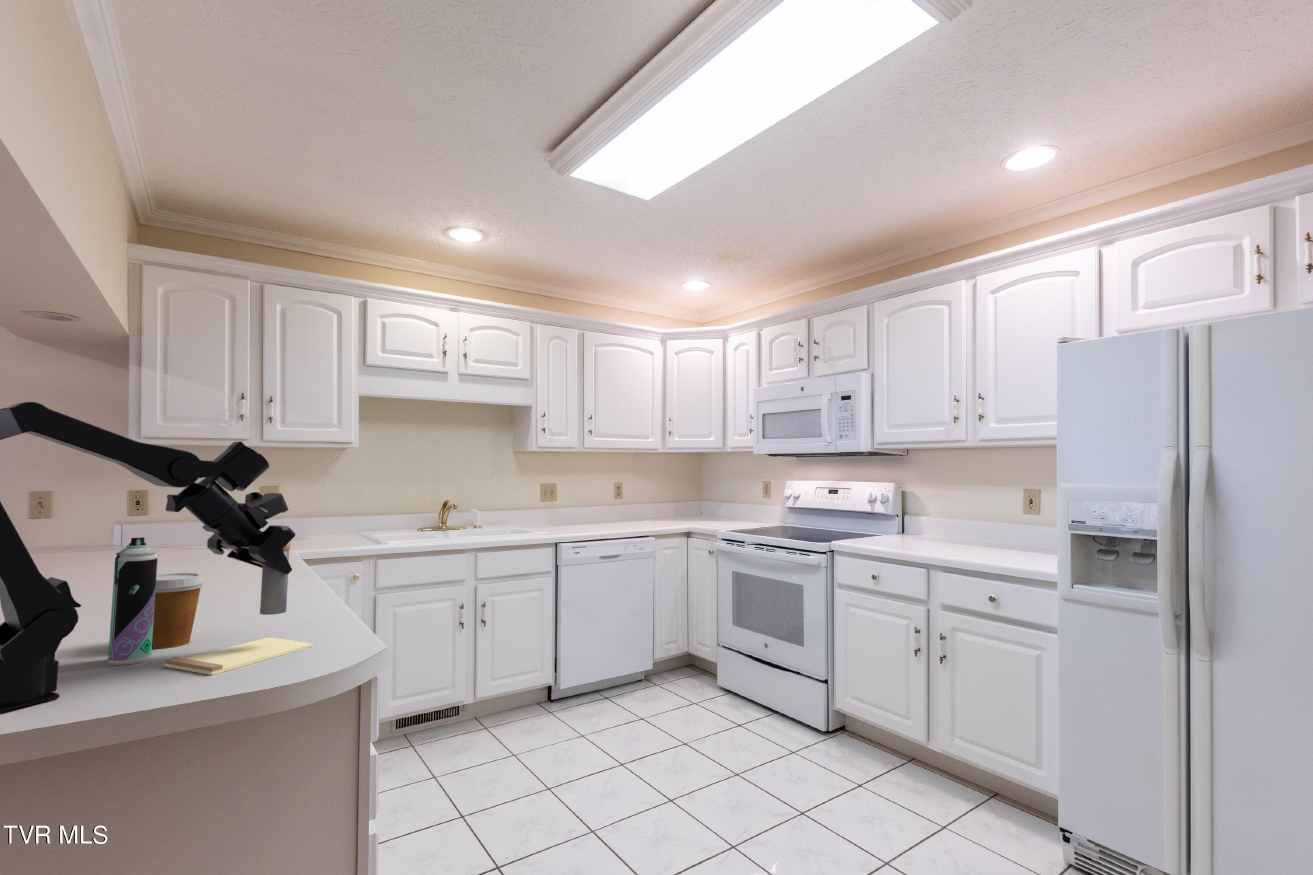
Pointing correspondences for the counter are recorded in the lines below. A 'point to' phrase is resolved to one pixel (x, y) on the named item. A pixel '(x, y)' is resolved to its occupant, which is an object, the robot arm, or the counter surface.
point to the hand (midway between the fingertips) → (283, 570)
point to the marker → (274, 589)
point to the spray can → (133, 604)
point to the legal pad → (236, 656)
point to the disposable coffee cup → (175, 608)
